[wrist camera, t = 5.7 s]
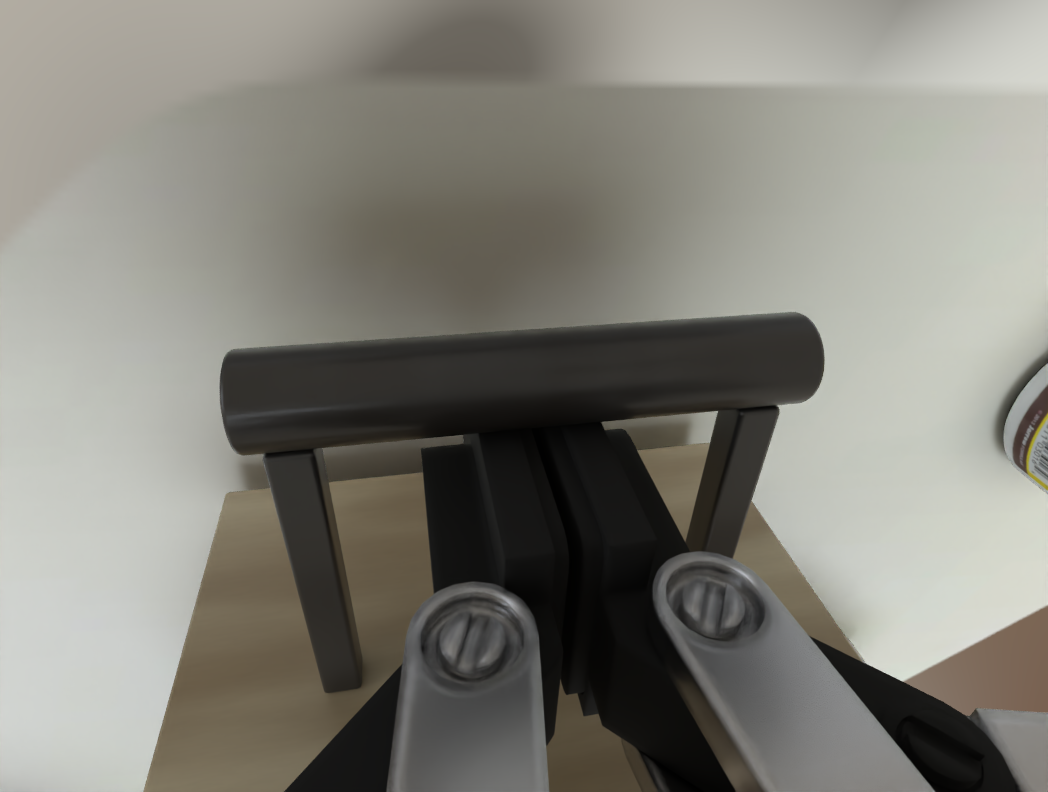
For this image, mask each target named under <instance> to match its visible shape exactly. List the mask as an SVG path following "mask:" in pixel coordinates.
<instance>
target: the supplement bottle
mask: <svg viewBox="0 0 1048 792" xmlns="http://www.w3.org/2000/svg"><path fill="white" fill-rule="evenodd" d="M1003 440H1004V448H1005V452H1006V454H1007V457H1008V458H1009V460H1010V462H1011V463H1012V464H1013V466H1014V467H1015V468H1016V469H1017V470H1018V471H1020V472H1021V473H1022V474H1023V475H1024V476H1026V477H1027V478H1028V479H1029V480H1030V481H1032V482H1033V483H1034V484H1035V485H1037V486H1038V487H1039V488H1040V489H1042V490H1043V491H1044V492H1046V493H1047V494H1048V363H1047V364H1046V365H1045V366H1044V367H1043V368H1042V369H1041V370H1040V371H1039V372H1038V373H1037V374H1036V375H1035V376H1034V377H1033V378H1032V379H1031V380H1030V381H1029V382H1028V384H1027V385H1026V386H1025V388H1024V389H1023V390H1022V392H1021V393H1020V394H1019V396H1018V397H1017V399H1016V401H1015V403H1014V404H1013V406H1012V408H1011V410H1010V412H1009V414H1008V417H1007V420H1006V423H1005V428H1004V439H1003Z"/></svg>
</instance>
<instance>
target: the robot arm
mask: <svg viewBox="0 0 1048 792" xmlns="http://www.w3.org/2000/svg"><path fill="white" fill-rule="evenodd" d="M463 438H464V444H461V445H451V446H440V447H430V448H421V455H422V468H423V480H424V492H425V504H426V515H427V527H428V538H429V549H430V560H431V571H432V582H433V593H434V595H432V596H431V597H430V598H428V599H427V600H426V601H425V602H423V603H422V604H421V606H420V607H419V609H418V610H417V611H416V613H415V614H414V616H413V617H412V618H411V621H410V625H409V628H408V631H407V634H406V640H405V648H404V656H403V663H402V664H401V665H400V667H399V668H398V669H397V670H396V671H395V672H394V673H393V674H392V675H391V676H390V677H389V678H388V680H387V681H386V682H385V683H384V684H383V685H382V686H381V687H380V688H379V689H378V690H377V691H376V693H375V694H374V695H373V696H372V697H371V698H370V699H369V700H368V701H367V702H366V703H365V704H364V706H363V707H362V708H361V709H360V710H359V711H358V712H357V713H356V714H355V715H354V716H353V717H352V718H351V720H350V721H349V722H348V723H347V724H346V725H345V726H344V727H343V728H342V729H341V730H340V731H339V733H338V734H337V735H336V736H335V737H334V738H333V739H332V740H331V741H330V742H329V743H328V744H327V746H326V747H325V748H324V749H323V750H322V751H321V752H320V753H319V754H318V755H317V756H316V757H315V759H314V760H313V761H312V762H311V763H310V764H309V765H308V766H307V767H306V768H305V769H304V770H303V772H302V773H301V774H300V775H299V776H298V777H297V778H296V779H295V780H294V781H293V782H292V783H291V784H290V786H289V787H288V788H287V789H286V790H285V791H284V792H549V781H548V766H547V752H546V747H547V745H548V744H549V742H550V740H551V739H552V737H553V736H554V733H555V724H556V715H557V706H558V696H559V687H560V679H561V683H562V687H563V690H564V692H565V694H566V695H570V694H576V693H577V694H578V698H579V701H580V705H581V709H582V712H583V716H589V715H595V714H599V717H600V720H601V724H602V726H603V727H605V728H606V729H608V730H610V731H611V732H613V733H614V734H616V735H617V736H619V737H620V738H621V743H622V746H623V750H624V753H625V756H626V759H627V761H628V763H629V765H630V767H631V770H632V772H633V774H634V776H635V778H636V780H637V782H638V785H639V787H640V789H641V791H642V792H1048V713H1040V712H1026V711H1011V710H995V709H979V708H976V709H975V710H974V712H973V713H972V714H971V715H970V716H965V715H963V714H962V713H960V712H959V711H957V710H955V709H954V708H952V707H951V706H949V705H947V704H945V703H944V702H942V701H940V700H938V699H936V698H934V697H932V696H930V695H928V694H926V693H924V692H922V691H920V690H918V689H916V688H914V687H912V686H910V685H908V684H906V683H904V682H902V681H900V680H898V679H896V678H894V677H892V676H890V675H888V674H886V673H884V672H882V671H880V670H878V669H876V668H874V667H871V666H869V665H867V664H865V663H863V662H861V661H859V660H857V659H855V658H853V657H851V656H849V655H847V654H845V653H843V652H841V651H839V650H837V649H835V648H833V647H831V646H829V645H827V644H825V643H823V642H821V641H819V640H817V639H815V638H813V637H811V636H809V635H808V634H807V633H806V632H805V631H804V629H803V628H802V627H801V626H800V625H799V623H798V622H797V621H796V620H795V618H794V617H793V616H792V615H791V613H790V612H789V611H788V610H787V609H786V607H785V606H784V605H783V604H782V602H781V601H780V600H779V599H778V597H777V596H776V595H775V594H774V592H773V591H772V590H771V589H770V588H769V586H768V585H767V584H766V583H765V582H764V581H763V580H762V579H761V578H760V577H759V576H758V575H757V574H756V573H755V572H754V571H753V570H752V569H750V568H748V567H747V566H745V565H743V564H742V563H740V562H738V561H737V560H735V559H732V558H729V557H726V556H723V555H721V554H718V553H710V552H702V551H696V552H690V550H689V548H688V546H687V544H686V543H685V541H684V539H683V537H682V535H681V533H680V531H679V529H678V527H677V525H676V524H675V522H674V520H673V518H672V516H671V514H670V512H669V510H668V508H667V506H666V504H665V503H664V501H663V499H662V497H661V495H660V493H659V491H658V489H657V487H656V485H655V484H654V482H653V480H652V478H651V476H650V474H649V472H648V470H647V468H646V466H645V465H644V463H643V461H642V459H641V457H640V455H639V453H638V451H637V449H636V447H635V446H634V444H633V442H632V440H631V438H630V436H629V435H628V434H627V432H626V431H625V430H623V429H615V430H604V428H603V426H602V424H601V422H593V423H583V424H572V425H561V426H551V427H540V428H529V429H519V430H508V431H498V432H487V433H476V434H466V435H463Z"/></svg>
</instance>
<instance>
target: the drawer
mask: <svg viewBox="0 0 1048 792" xmlns="http://www.w3.org/2000/svg"><path fill="white" fill-rule="evenodd" d="M823 372H824V349H823V344H822V340H821V337H820V334H819V332H818V330H817V328H816V327H815V325H814V324H813V322H812V321H811V320H810V319H809V318H807V317H806V316H804V315H802V314H800V313H796V312H786V313H771V314H756V315H741V316H726V317H711V318H696V319H681V320H666V321H651V322H636V323H621V324H606V325H591V326H576V327H561V328H546V329H531V330H515V331H500V332H485V333H470V334H455V335H440V336H425V337H410V338H395V339H380V340H365V341H350V342H335V343H320V344H305V345H290V346H275V347H260V348H245V349H233V350H231V351H229V352H227V354H226V355H225V357H224V360H223V363H222V368H221V374H220V405H221V413H222V419H223V424H224V428H225V432H226V435H227V438H228V440H229V443H230V445H231V447H232V448H233V450H234V451H235V452H236V453H237V454H240V455H253V454H264V456H263V463H264V467H265V471H266V474H267V478H268V482H269V486H270V488H266V489H256V490H247V491H237V492H229V493H227V494H226V495H225V499H224V503H223V506H222V510H221V513H220V517H219V521H218V524H217V528H216V531H215V535H214V539H213V542H212V546H211V550H210V553H209V557H208V560H207V564H206V568H205V571H204V575H203V578H202V582H201V586H200V589H199V593H198V596H197V600H196V604H195V607H194V611H193V614H192V618H191V622H190V625H189V629H188V633H187V636H186V640H185V643H184V647H183V651H182V654H181V658H180V661H179V665H178V669H177V672H176V676H175V679H174V683H173V687H172V690H171V694H170V698H169V701H168V705H167V708H166V712H165V716H164V719H163V723H162V726H161V730H160V734H159V737H158V741H157V744H156V748H155V752H154V755H153V759H152V762H151V766H150V770H149V773H148V777H147V781H146V784H145V788H144V791H143V792H284V791H285V790H286V789H287V788H288V787H289V786H290V784H291V783H292V782H293V781H294V780H295V779H296V778H297V777H298V776H299V775H300V774H301V773H302V772H303V770H304V769H305V768H306V767H307V766H308V765H309V764H310V763H311V762H312V761H313V760H314V759H315V757H316V756H317V755H318V754H319V753H320V752H321V751H322V750H323V749H324V748H325V747H326V746H327V744H328V743H329V742H330V741H331V740H332V739H333V738H334V737H335V736H336V735H337V734H338V733H339V731H340V730H341V729H342V728H343V727H344V726H345V725H346V724H347V723H348V722H349V721H350V720H351V718H352V717H353V716H354V715H355V714H356V713H357V712H358V711H359V710H360V709H361V708H362V707H363V706H364V704H365V703H366V702H367V701H368V700H369V699H370V698H371V697H372V696H373V695H374V694H375V693H376V691H377V690H378V689H379V688H380V687H381V686H382V685H383V684H384V683H385V682H386V681H387V680H388V678H389V677H390V676H391V675H392V674H393V673H394V672H395V671H396V670H397V669H398V668H399V667H400V665H401V664H402V663H403V656H404V648H405V640H406V634H407V631H408V628H409V625H410V621H411V618H412V617H413V616H414V614H415V613H416V611H417V610H418V609H419V607H420V606H421V604H422V603H423V602H425V601H426V600H427V599H428V598H430V597H431V596H432V595H434V593H433V582H432V571H431V560H430V549H429V538H428V527H427V515H426V504H425V492H424V480H423V472H421V473H411V474H401V475H392V476H382V477H372V478H363V479H353V480H343V481H334V482H328V477H327V471H326V466H325V461H324V456H323V451H322V448H328V447H338V446H349V445H360V444H370V443H381V442H391V441H402V440H413V439H423V438H434V437H445V436H455V435H466V434H476V433H487V432H498V431H508V430H519V429H529V428H540V427H551V426H561V425H572V424H583V423H593V422H604V421H614V420H625V419H636V418H646V417H657V416H668V415H678V414H689V413H699V412H710V411H718V413H717V417H716V421H715V425H714V429H713V433H712V437H711V441H710V443H702V444H692V445H682V446H673V447H663V448H653V449H643V450H637V451H638V453H639V455H640V457H641V459H642V461H643V463H644V465H645V466H646V468H647V470H648V472H649V474H650V476H651V478H652V480H653V482H654V484H655V485H656V487H657V489H658V491H659V493H660V495H661V497H662V499H663V501H664V503H665V504H666V506H667V508H668V510H669V512H670V514H671V516H672V518H673V520H674V522H675V524H676V525H677V527H678V529H679V531H680V533H681V535H682V537H683V539H684V541H685V543H686V544H687V546H688V548H689V550H690V552H696V551H702V552H710V553H718V554H721V555H723V556H726V557H729V558H732V559H735V560H737V561H738V562H740V563H742V564H743V565H745V566H747V567H748V568H750V569H752V570H753V571H754V572H755V573H756V574H757V575H758V576H759V577H760V578H761V579H762V580H763V581H764V582H765V583H766V584H767V585H768V586H769V588H770V589H771V590H772V591H773V592H774V594H775V595H776V596H777V597H778V599H779V600H780V601H781V602H782V604H783V605H784V606H785V607H786V609H787V610H788V611H789V612H790V613H791V615H792V616H793V617H794V618H795V620H796V621H797V622H798V623H799V625H800V626H801V627H802V628H803V629H804V631H805V632H806V633H807V634H808V635H809V636H811V637H813V638H815V639H817V640H819V641H821V642H823V643H825V644H827V645H829V646H831V647H833V648H835V649H837V650H839V651H841V652H843V653H845V654H847V655H849V656H851V657H853V658H855V659H857V660H859V661H861V662H863V661H862V660H861V659H860V657H859V656H858V654H857V653H856V651H855V650H854V648H853V647H852V645H851V644H850V643H849V641H848V640H847V638H846V637H845V635H844V634H843V632H842V631H841V630H840V628H839V627H838V625H837V624H836V622H835V621H834V619H833V618H832V617H831V615H830V614H829V612H828V611H827V609H826V608H825V606H824V605H823V604H822V602H821V601H820V599H819V598H818V596H817V595H816V593H815V592H814V591H813V589H812V588H811V586H810V585H809V583H808V582H807V580H806V579H805V578H804V576H803V575H802V573H801V572H800V570H799V569H798V567H797V566H796V565H795V563H794V562H793V560H792V559H791V557H790V556H789V554H788V553H787V552H786V550H785V549H784V547H783V546H782V544H781V543H780V541H779V540H778V539H777V537H776V536H775V534H774V533H773V531H772V530H771V528H770V527H769V526H768V524H767V523H766V521H765V520H764V518H763V517H762V515H761V514H760V513H759V511H758V510H757V508H756V507H755V505H754V504H753V502H752V501H751V500H752V497H753V494H754V491H755V488H756V485H757V482H758V479H759V475H760V472H761V469H762V466H763V463H764V460H765V457H766V453H767V450H768V447H769V444H770V441H771V438H772V435H773V431H774V428H775V425H776V422H777V419H778V416H779V407H778V406H777V405H784V404H795V403H802V402H804V401H806V400H808V399H809V398H811V397H812V396H813V395H814V394H815V392H816V391H817V389H818V387H819V385H820V383H821V380H822V377H823ZM546 752H547V766H548V781H549V792H642V791H641V789H640V787H639V785H638V782H637V780H636V778H635V776H634V774H633V772H632V770H631V767H630V765H629V763H628V761H627V759H626V756H625V753H624V750H623V746H622V743H621V738H620V737H619V736H617V735H616V734H614V733H613V732H611V731H610V730H608V729H606V728H605V727H603V726H602V724H601V720H600V717H599V714H595V715H589V716H583V712H582V709H581V705H580V701H579V698H578V694H577V693H576V694H570V695H566V694H565V692H564V690H563V687H562V683H561V679H560V687H559V696H558V706H557V715H556V724H555V733H554V736H553V737H552V739H551V740H550V742H549V744H548V745H547V747H546Z"/></svg>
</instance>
